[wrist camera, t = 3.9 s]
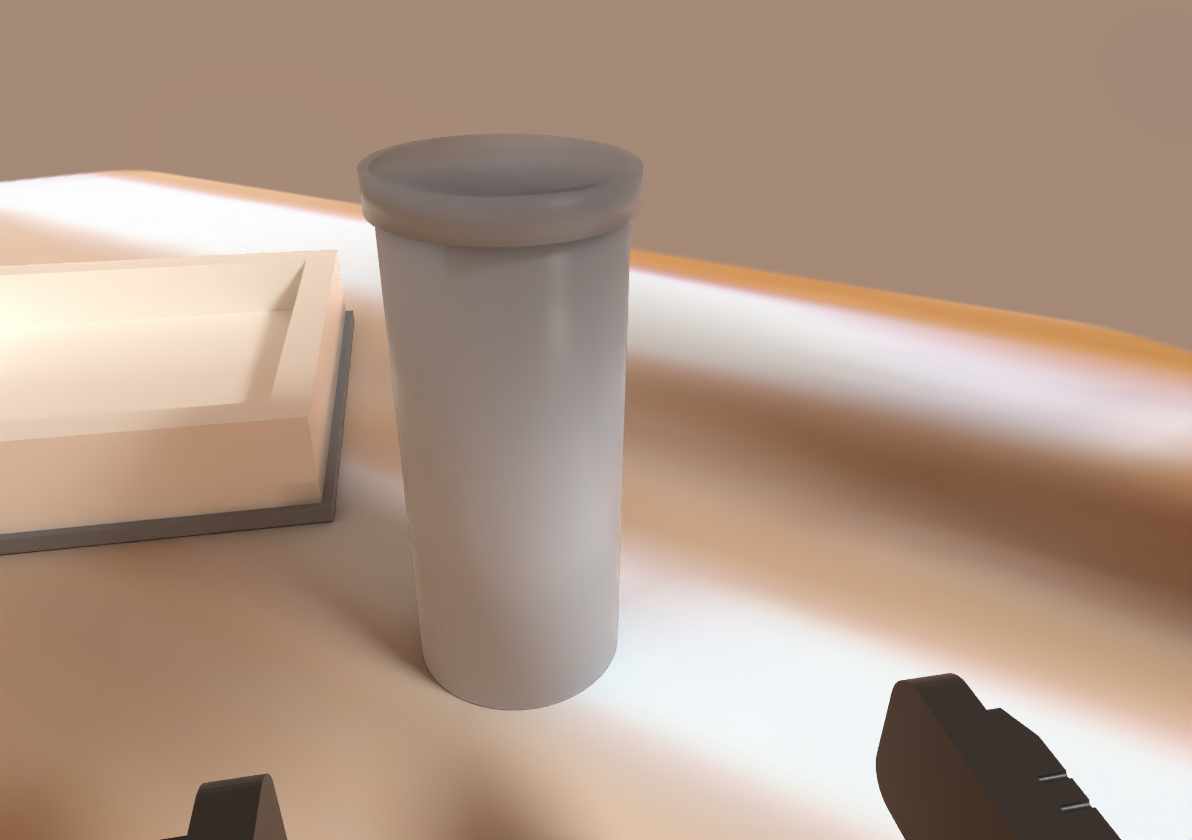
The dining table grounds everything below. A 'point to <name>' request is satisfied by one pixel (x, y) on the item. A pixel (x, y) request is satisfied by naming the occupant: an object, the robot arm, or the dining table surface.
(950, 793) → the robot arm
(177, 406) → the dish
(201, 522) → the mat
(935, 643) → the dining table surface
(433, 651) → the canister
